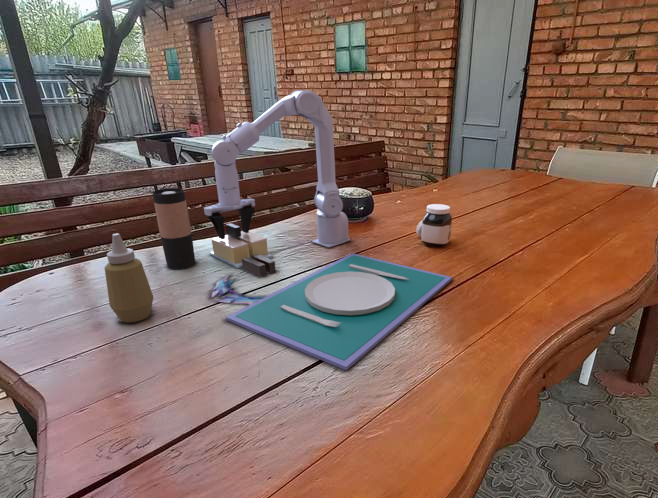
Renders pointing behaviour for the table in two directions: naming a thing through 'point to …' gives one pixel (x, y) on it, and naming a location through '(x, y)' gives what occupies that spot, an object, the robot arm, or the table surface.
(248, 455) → the table surface
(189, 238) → the travel mug
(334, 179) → the robot arm
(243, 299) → the decorative blades
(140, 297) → the squeeze bottle
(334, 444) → the table surface
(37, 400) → the table surface
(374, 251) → the table surface
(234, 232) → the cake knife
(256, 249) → the cake
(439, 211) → the spread jar
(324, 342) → the place mat
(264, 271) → the stand
